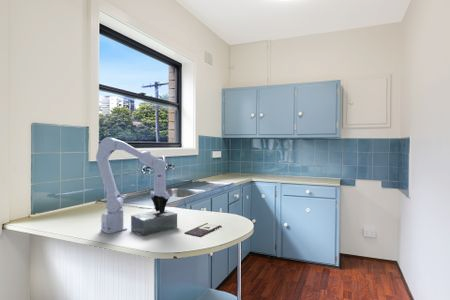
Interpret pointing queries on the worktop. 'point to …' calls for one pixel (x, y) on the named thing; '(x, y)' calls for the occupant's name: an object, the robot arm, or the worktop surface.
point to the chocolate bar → (202, 230)
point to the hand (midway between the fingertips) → (159, 211)
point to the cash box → (153, 222)
